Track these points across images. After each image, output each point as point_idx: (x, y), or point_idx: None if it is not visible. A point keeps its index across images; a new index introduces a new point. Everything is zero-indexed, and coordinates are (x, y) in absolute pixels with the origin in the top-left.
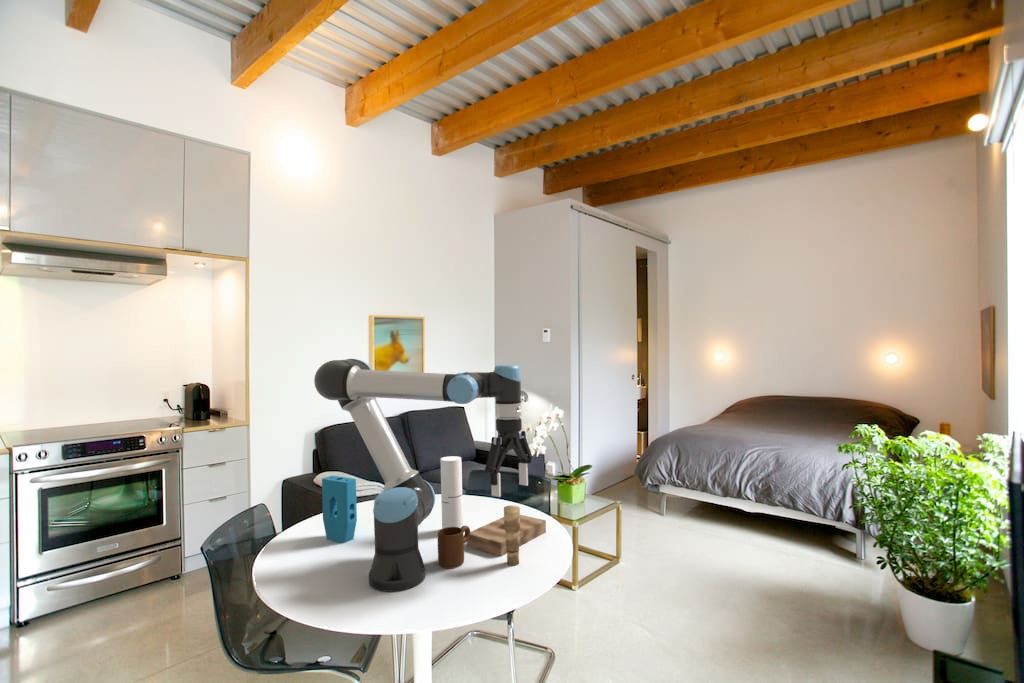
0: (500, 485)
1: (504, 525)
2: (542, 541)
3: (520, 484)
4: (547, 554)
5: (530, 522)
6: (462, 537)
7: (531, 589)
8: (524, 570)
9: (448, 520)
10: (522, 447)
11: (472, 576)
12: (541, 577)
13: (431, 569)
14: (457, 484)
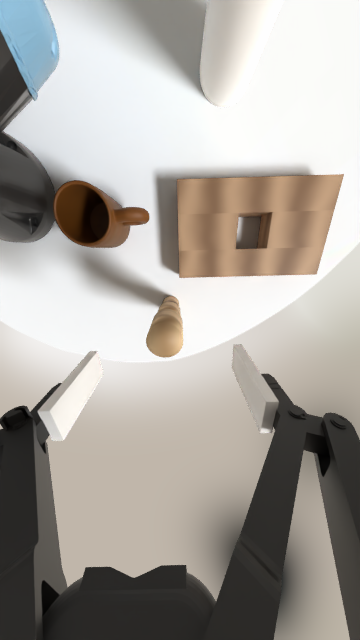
0: (88, 398)
1: (154, 317)
2: (260, 290)
3: (233, 349)
4: (220, 323)
5: (294, 256)
6: (102, 245)
7: (131, 359)
8: None
9: (206, 48)
10: (345, 533)
11: (105, 286)
12: None
13: None
14: None
